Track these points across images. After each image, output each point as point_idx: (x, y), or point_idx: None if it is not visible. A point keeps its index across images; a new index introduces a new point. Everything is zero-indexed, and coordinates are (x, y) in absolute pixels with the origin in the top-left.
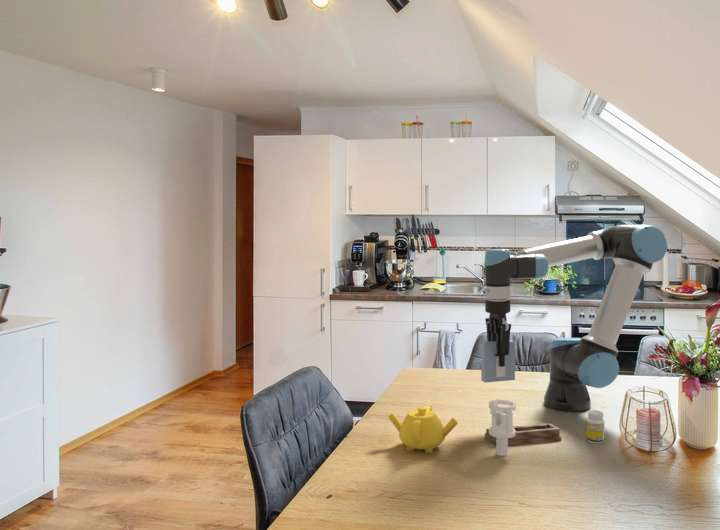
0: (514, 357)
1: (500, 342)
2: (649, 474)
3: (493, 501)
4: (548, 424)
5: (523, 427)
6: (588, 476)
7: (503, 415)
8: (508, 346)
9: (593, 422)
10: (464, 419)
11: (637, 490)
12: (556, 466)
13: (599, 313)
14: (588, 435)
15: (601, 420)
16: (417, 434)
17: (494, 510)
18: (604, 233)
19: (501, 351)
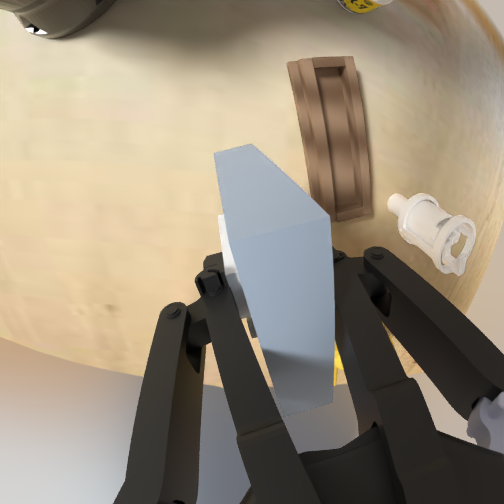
0: (280, 170)
1: (407, 347)
2: (463, 30)
3: (478, 242)
4: (321, 66)
5: (325, 132)
6: (469, 109)
7: (457, 238)
8: (420, 282)
9: (391, 1)
10: (193, 247)
11: (491, 80)
12: (445, 134)
13: None
14: (365, 11)
15: None
16: (391, 341)
17: (485, 244)
18: None
19: (390, 301)
